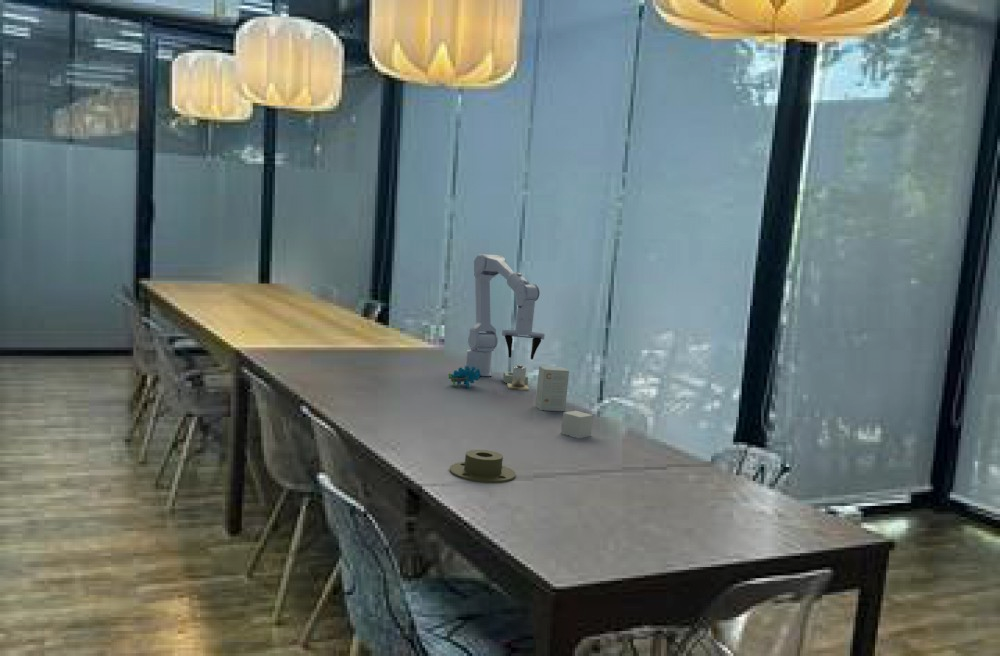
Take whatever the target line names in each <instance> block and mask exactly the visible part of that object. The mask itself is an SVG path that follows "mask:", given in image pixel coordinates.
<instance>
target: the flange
mask: <svg viewBox="0 0 1000 656" xmlns="http://www.w3.org/2000/svg"><path fill="white" fill-rule="evenodd" d="M503 458H504V455H503V454H502V453H500V452H498V451H493V450H489V449H488V450H487V449H471V450H470V449H469V450H467V451H466V452H465V458H464V461H460V462H456V463H453V464H452V465H450V467H449V473H450V474H451V475H453V476H454V477H457V478H459V479H462V480H465V481H470V482H475V483H482V484H483V483H484V484H500V483H502V484H503V483H509V482H512V481H514V480H515V479H516V475H517V473H516V472H515V470H513V469H512V468H510V467H508V466H505V465H503V460H504V459H503Z"/></svg>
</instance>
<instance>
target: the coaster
mask: <svg viewBox="0 0 1000 656" xmlns="http://www.w3.org/2000/svg"><path fill="white" fill-rule="evenodd" d="M506 386H508V387H507V389H508V388H509V389H508V390H517V389H518V391H519V390H520V391H530V388H529V386H528V384H527V385H524V387H515V386H512V384H509V383H507V384H506Z"/></svg>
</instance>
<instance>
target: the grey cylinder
mask: <svg viewBox="0 0 1000 656" xmlns="http://www.w3.org/2000/svg"><path fill="white" fill-rule="evenodd" d="M516 365H517V366H516ZM516 365H515V366H513V368H512V369H513V370H512V372H513V377H512V386H515V387H524V384H525V375H527V367H525V366H523V365H520V364H516Z"/></svg>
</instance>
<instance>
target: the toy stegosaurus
mask: <svg viewBox="0 0 1000 656" xmlns="http://www.w3.org/2000/svg"><path fill="white" fill-rule="evenodd" d="M475 370H476V371H475ZM474 371H475V372H474ZM479 377H482V376H481V373H480V370H479V369H476V368H475V367H472V370H469V366H466V367H465V369H464V368H463V367H458V369H457V370H454V371H453V373H448V379H449V380H450V381H451V382H452V387H453V388H456V383H457V385H461V384H462V382H463V385H464V384H466V385H465V387H466V389H470V384H474V383H475V381H479V379H480V378H479Z"/></svg>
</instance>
